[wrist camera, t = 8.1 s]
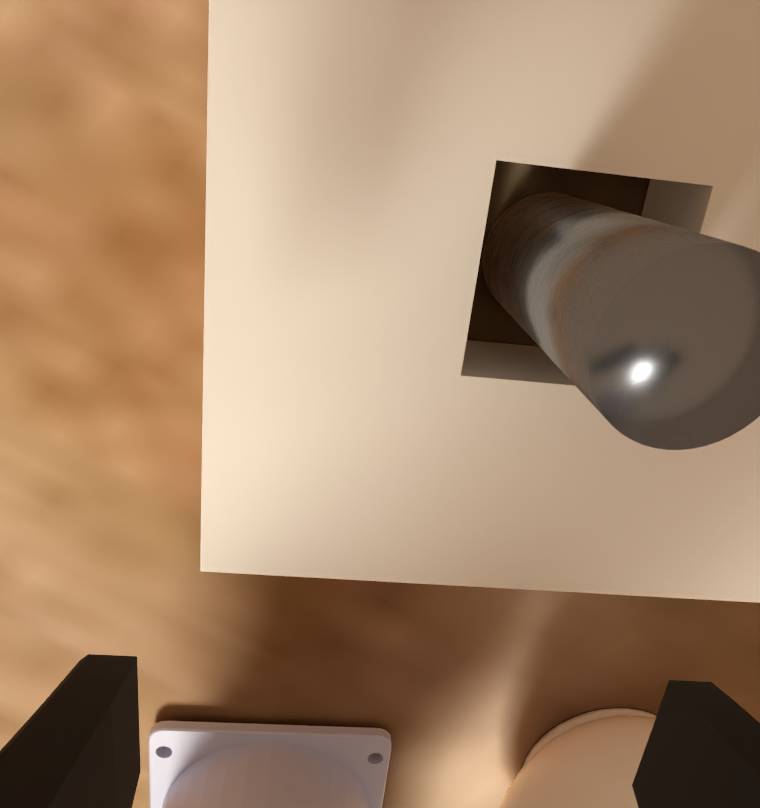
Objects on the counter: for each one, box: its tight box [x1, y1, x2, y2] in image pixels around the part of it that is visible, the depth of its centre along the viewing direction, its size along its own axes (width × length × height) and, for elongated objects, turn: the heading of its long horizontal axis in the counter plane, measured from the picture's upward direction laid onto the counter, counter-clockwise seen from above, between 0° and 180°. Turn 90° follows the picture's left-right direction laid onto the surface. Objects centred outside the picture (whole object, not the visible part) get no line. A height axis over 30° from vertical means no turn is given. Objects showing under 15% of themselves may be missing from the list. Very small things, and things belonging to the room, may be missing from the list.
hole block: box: [200, 0, 760, 603], centre depth 16 cm, size 16×16×3 cm
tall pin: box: [482, 192, 760, 450], centre depth 14 cm, size 3×3×8 cm
